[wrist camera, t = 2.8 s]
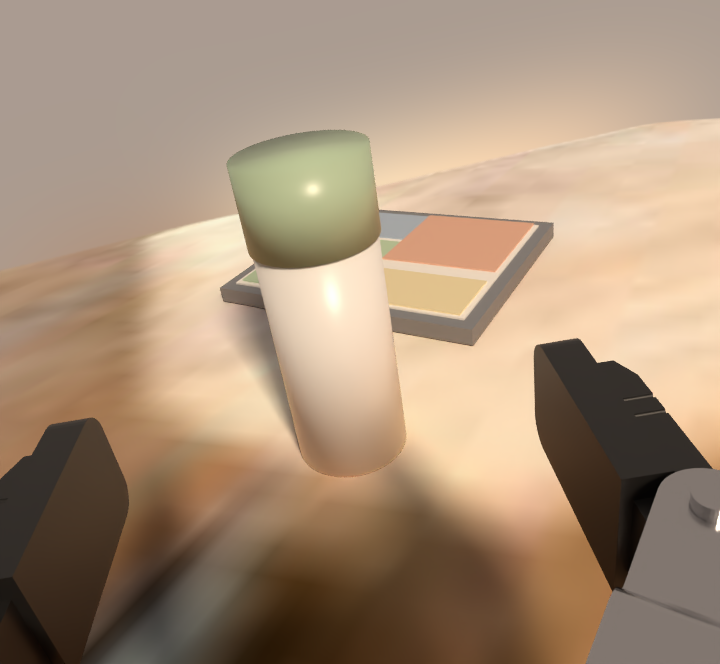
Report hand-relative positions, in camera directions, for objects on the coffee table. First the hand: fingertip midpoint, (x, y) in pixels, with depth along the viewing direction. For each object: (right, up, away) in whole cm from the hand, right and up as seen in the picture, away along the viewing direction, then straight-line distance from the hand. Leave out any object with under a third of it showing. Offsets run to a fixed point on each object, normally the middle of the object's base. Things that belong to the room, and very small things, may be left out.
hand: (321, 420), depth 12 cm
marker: (0, -3, +15) cm, 15 cm away
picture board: (+3, +5, +28) cm, 29 cm away
